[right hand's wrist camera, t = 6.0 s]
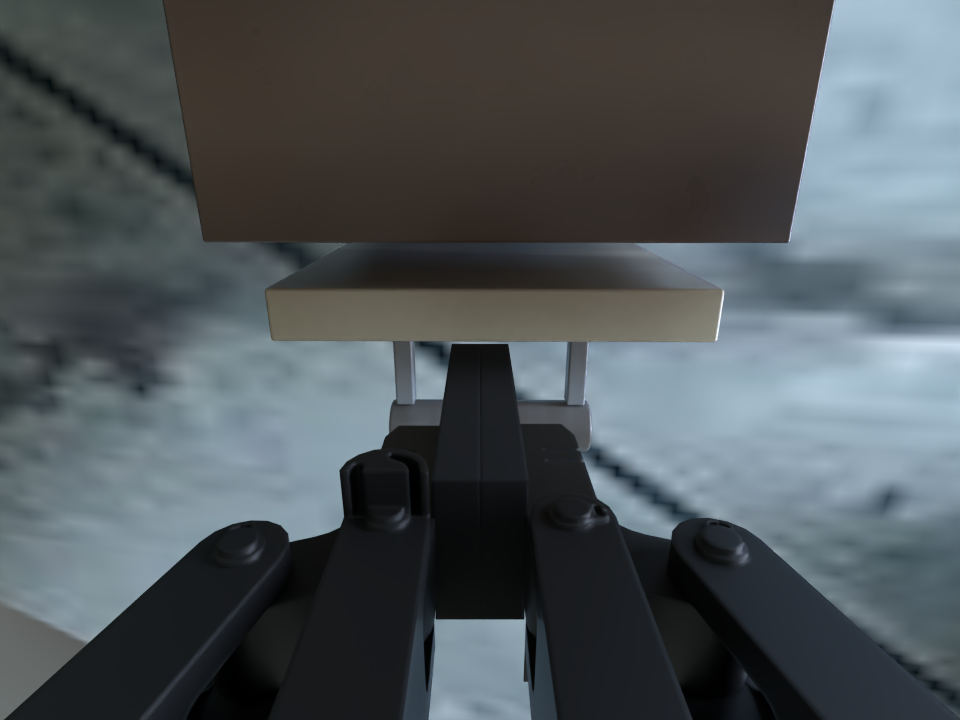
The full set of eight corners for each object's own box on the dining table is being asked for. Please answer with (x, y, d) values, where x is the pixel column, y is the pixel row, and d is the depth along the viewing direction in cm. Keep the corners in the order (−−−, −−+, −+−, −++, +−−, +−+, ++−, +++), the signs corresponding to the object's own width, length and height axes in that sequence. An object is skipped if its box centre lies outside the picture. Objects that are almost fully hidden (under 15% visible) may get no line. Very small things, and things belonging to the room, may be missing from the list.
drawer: (605, 394, 23) (686, 548, 14) (373, 393, 23) (297, 545, 14) (681, -507, 14) (1044, -1755, 5) (309, -503, 14) (-14, -1721, 5)
